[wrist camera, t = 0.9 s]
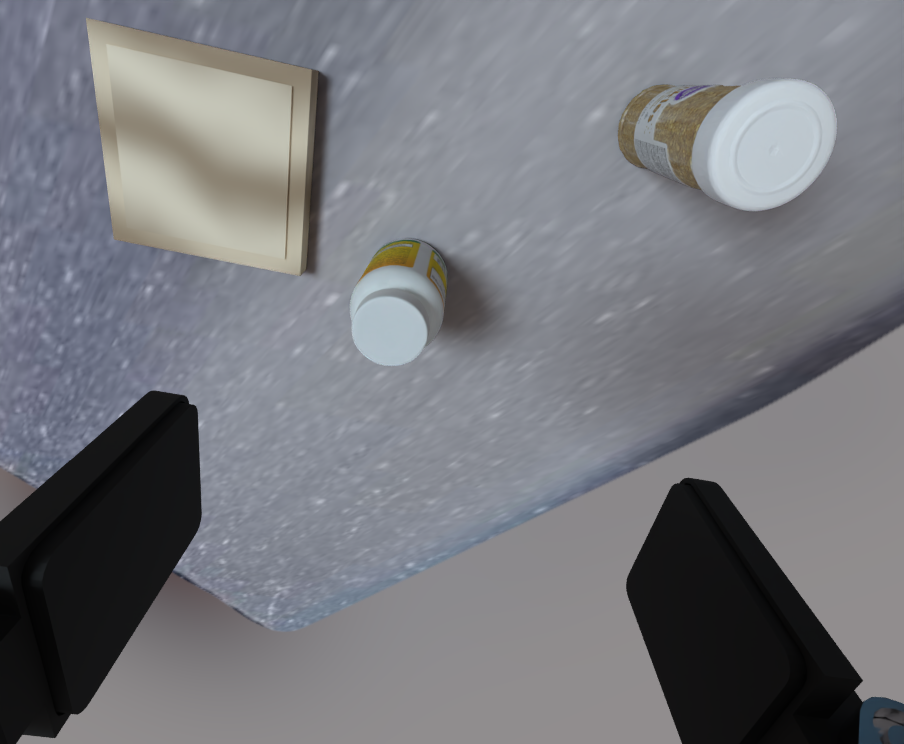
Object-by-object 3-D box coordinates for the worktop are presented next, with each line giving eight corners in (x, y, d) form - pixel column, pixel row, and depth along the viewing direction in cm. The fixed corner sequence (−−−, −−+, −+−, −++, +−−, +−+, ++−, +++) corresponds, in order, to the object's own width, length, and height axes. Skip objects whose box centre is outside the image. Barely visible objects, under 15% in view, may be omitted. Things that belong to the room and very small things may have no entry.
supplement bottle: (462, 263, 34) (462, 318, 26) (423, 325, 37) (410, 394, 28) (392, 220, 33) (367, 263, 24) (355, 287, 35) (321, 348, 27)
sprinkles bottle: (672, 66, 28) (819, 45, 17) (705, 136, 30) (860, 163, 18) (600, 120, 30) (690, 136, 18) (636, 185, 32) (739, 237, 20)
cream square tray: (103, 21, 28) (84, 17, 27) (318, 70, 29) (311, 69, 27) (127, 233, 34) (112, 239, 32) (306, 269, 35) (299, 276, 33)
